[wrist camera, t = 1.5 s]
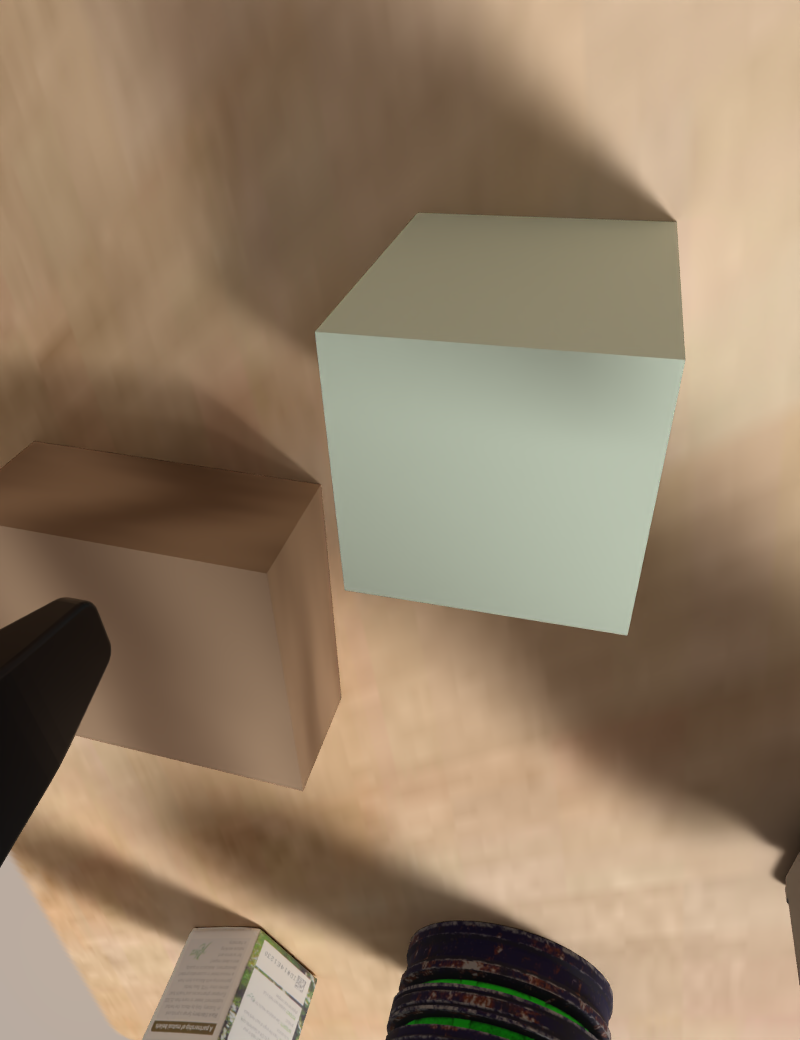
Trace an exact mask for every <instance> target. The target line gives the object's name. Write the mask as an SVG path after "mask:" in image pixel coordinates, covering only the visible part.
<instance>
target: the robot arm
mask: <svg viewBox="0 0 800 1040" xmlns="http://www.w3.org/2000/svg"><path fill="white" fill-rule="evenodd" d="M111 650H112V649H111V642H110V640H109V637H108V635H107V632H106V630H105V627H104V625H103V622H102V620H101V617H100V615H99V612H98V610H97V608H96V606H95V605H94V604H93V603H92V602H90V601H87V600H81V599H76V598H70V597H62V598H58V599H56V600H54V601H52V602H50V603H48V604H46V605H45V606H43V607H41V608H39V609H37V610H35V611H33V612H31V613H30V614H28V615H26V616H24V617H22V618H20V619H18V620H16V621H15V622H13V623H11V624H9V625H7V626H5V627H3V628H1V629H0V867H1V865H2V864H3V862H4V860H5V859H6V857H7V855H8V854H9V852H10V850H11V848H12V847H13V845H14V843H15V842H16V840H17V838H18V837H19V835H20V833H21V832H22V830H23V828H24V827H25V825H26V823H27V822H28V820H29V818H30V816H31V815H32V813H33V811H34V810H35V808H36V806H37V805H38V803H39V801H40V800H41V798H42V796H43V795H44V793H45V791H46V790H47V788H48V786H49V785H50V783H51V781H52V779H53V778H54V776H55V774H56V772H57V770H58V769H59V767H60V765H61V763H62V761H63V759H64V757H65V755H66V753H67V751H68V749H69V747H70V745H71V743H72V741H73V739H74V736H75V734H76V732H77V730H78V728H79V726H80V724H81V721H82V719H83V717H84V715H85V713H86V711H87V709H88V706H89V704H90V702H91V700H92V698H93V696H94V694H95V691H96V689H97V687H98V685H99V683H100V681H101V679H102V677H103V674H104V672H105V670H106V668H107V666H108V663H109V661H110V657H111ZM785 893H786V901H787V903H788V904H789V909H790V917H791V924H792V932H793V939H794V947H795V954H796V962H797V969H798V976H799V984H800V852H799V854H798V856H797V857H796V859H795V861H794V863H793V865H792V866H791V868H790V870H789V872H788V874H787V875H786V887H785Z"/></svg>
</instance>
